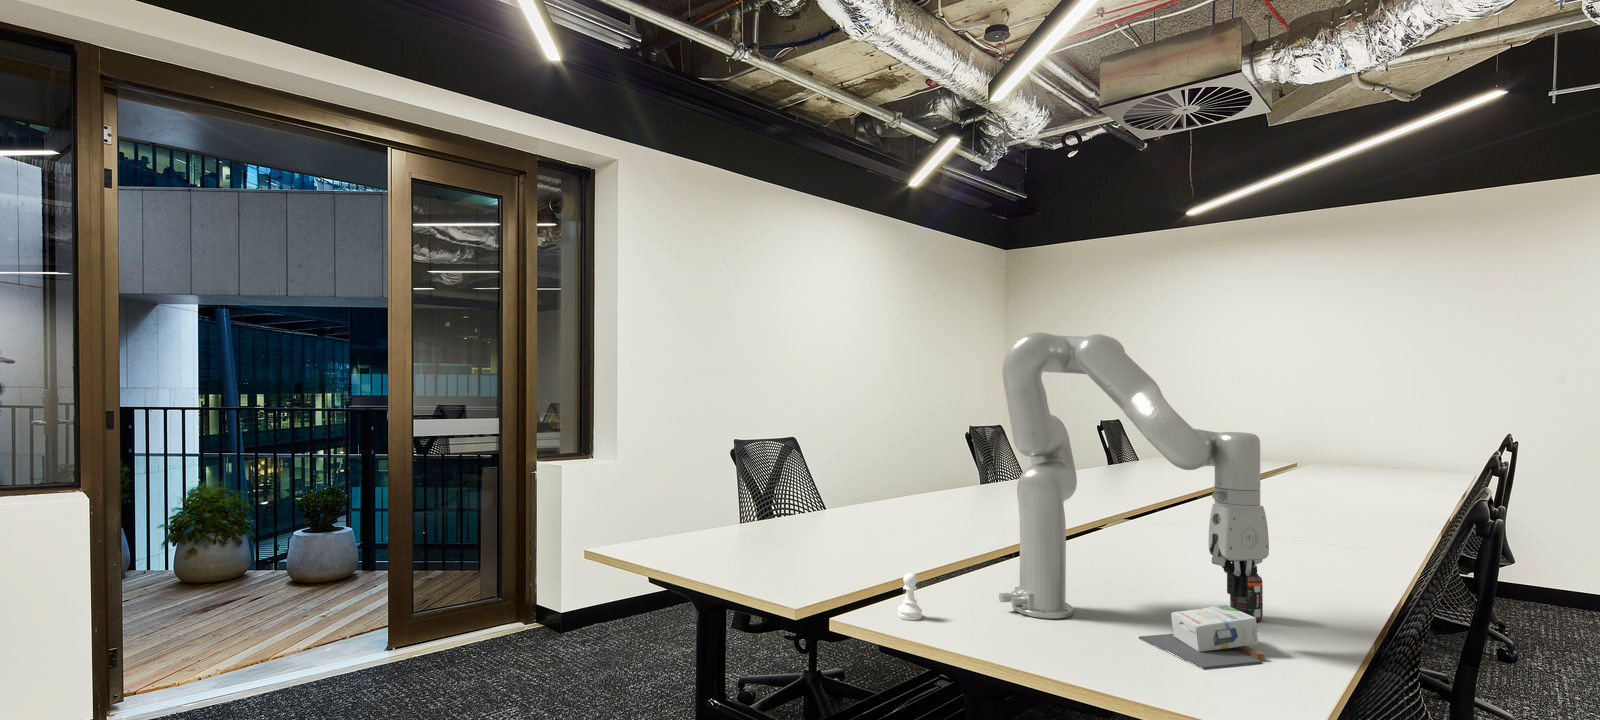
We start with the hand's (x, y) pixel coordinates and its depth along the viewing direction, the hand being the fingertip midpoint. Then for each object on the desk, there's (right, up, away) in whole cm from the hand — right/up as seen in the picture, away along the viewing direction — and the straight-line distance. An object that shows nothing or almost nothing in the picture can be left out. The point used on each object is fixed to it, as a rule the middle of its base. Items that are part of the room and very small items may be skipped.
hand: (1237, 595), depth 142 cm
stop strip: (-2, -10, -1) cm, 10 cm away
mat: (-9, -9, -3) cm, 13 cm away
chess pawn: (-60, -9, +15) cm, 62 cm away
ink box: (+1, -6, 0) cm, 6 cm away
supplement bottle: (+12, -11, +17) cm, 24 cm away
